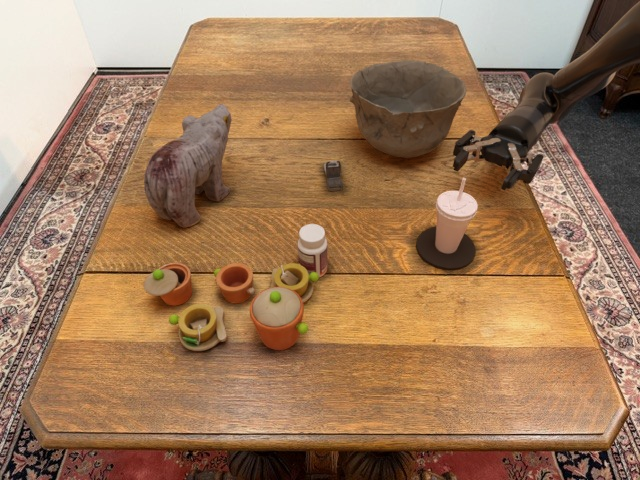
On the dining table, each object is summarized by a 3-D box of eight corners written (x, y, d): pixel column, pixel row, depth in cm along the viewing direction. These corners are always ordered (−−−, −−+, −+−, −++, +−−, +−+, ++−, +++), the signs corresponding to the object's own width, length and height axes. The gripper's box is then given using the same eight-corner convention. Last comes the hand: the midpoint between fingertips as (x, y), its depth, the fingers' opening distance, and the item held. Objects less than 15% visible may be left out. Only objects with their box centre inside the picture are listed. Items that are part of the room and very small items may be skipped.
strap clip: (323, 166, 98) (322, 149, 95) (337, 165, 99) (337, 148, 96) (328, 192, 92) (328, 174, 89) (343, 190, 93) (344, 173, 90)
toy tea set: (318, 272, 78) (318, 230, 71) (320, 356, 67) (319, 315, 60) (160, 275, 78) (144, 233, 71) (135, 358, 67) (113, 318, 60)
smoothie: (470, 240, 82) (490, 176, 72) (457, 264, 78) (477, 199, 68) (435, 228, 84) (450, 163, 74) (421, 250, 80) (435, 185, 70)
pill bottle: (320, 254, 81) (320, 218, 75) (332, 274, 77) (332, 238, 71) (294, 263, 79) (292, 226, 73) (305, 283, 76) (303, 247, 70)
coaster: (475, 233, 84) (475, 230, 84) (474, 274, 77) (475, 272, 77) (418, 224, 86) (418, 222, 85) (413, 264, 79) (413, 262, 78)
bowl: (332, 135, 106) (333, 71, 96) (412, 112, 113) (421, 50, 103) (385, 190, 93) (393, 122, 82) (472, 159, 100) (490, 93, 89)
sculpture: (241, 168, 98) (231, 102, 87) (217, 238, 84) (201, 169, 73) (183, 165, 99) (166, 100, 88) (149, 234, 84) (124, 165, 74)
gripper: (485, 103, 88) (445, 142, 79) (562, 128, 82) (528, 173, 73) (476, 137, 93) (437, 178, 84) (548, 164, 87) (514, 210, 78)
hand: (479, 176), depth 79 cm, fingers open, 8 cm apart
